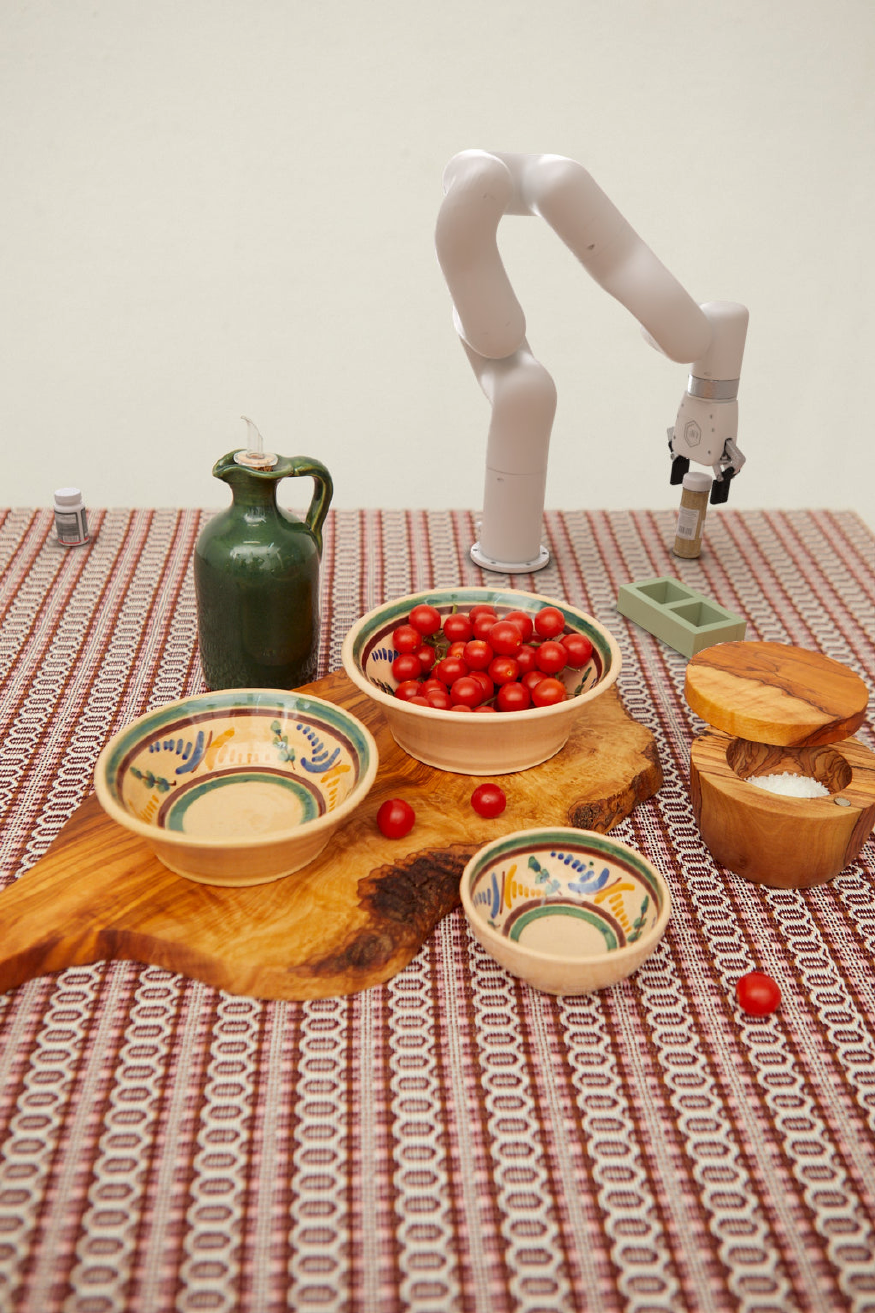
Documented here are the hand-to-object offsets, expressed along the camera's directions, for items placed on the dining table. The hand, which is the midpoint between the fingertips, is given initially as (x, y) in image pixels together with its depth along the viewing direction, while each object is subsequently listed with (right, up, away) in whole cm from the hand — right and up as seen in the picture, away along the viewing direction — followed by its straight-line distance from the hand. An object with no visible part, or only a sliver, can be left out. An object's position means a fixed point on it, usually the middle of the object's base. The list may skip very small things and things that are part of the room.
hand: (697, 493), depth 175 cm
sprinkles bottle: (-1, -9, +5) cm, 11 cm away
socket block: (-7, -22, -19) cm, 30 cm away
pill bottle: (-100, -8, 0) cm, 100 cm away
